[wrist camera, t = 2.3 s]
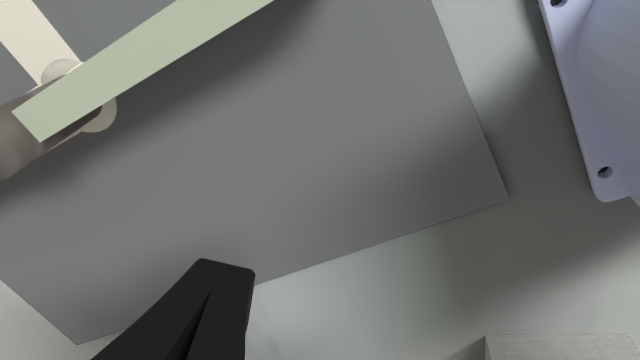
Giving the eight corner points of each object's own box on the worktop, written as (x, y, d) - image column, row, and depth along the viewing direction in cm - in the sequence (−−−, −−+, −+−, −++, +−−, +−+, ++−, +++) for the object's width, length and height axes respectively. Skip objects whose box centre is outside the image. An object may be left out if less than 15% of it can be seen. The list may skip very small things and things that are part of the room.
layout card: (508, 195, 18) (510, 200, 18) (79, 341, 27) (76, 345, 27) (110, -806, 8) (100, -834, 8) (-354, -35, 17) (-366, -34, 17)
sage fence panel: (349, -50, 13) (338, -40, 10) (106, 98, 17) (39, 142, 14) (331, -89, 13) (313, -92, 10) (86, 72, 17) (11, 111, 13)
